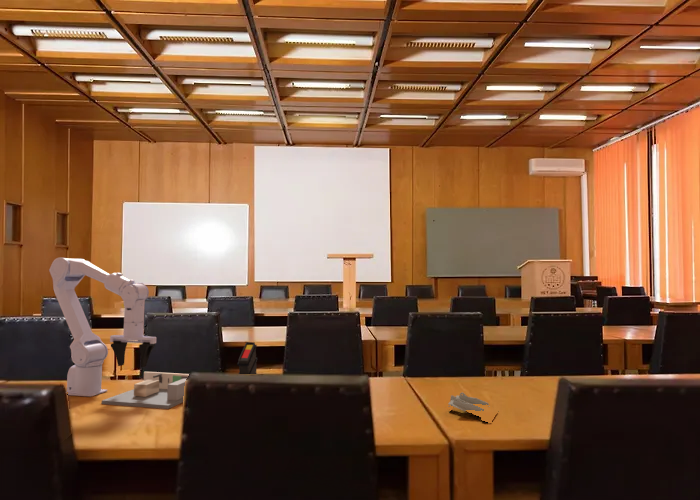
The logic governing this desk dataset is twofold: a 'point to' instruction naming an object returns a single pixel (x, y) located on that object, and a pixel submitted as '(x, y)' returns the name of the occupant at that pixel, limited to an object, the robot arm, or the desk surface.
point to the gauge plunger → (147, 387)
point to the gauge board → (164, 399)
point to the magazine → (248, 359)
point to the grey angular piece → (466, 402)
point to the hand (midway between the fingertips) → (132, 366)
